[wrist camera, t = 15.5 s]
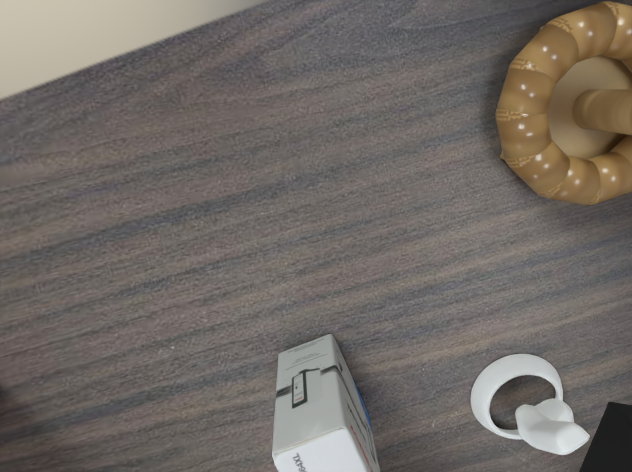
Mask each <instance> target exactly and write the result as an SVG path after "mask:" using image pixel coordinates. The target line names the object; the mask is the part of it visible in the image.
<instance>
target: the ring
mask: <svg viewBox="0 0 632 472" xmlns="http://www.w3.org/2000/svg"><path fill="white" fill-rule="evenodd" d="M597 55H601V56H606V57H610V58H614V59H619V60H621V61H622V62H623V63H624V65H625V66H626V67H627V68H628V69H629V70H630V71H631V73H632V6H629V5H625V4H620V3H616V2H611V1H605V2H600V3H596V4H593V5H591V6H588V7H585V8H582V9H579V10H576V11H573V12H571V13H568V14H565V15H562V16H559V17H557V18H554V19H552V20H551V21H549V22H548V23H547V24H546V25H545V26H544V27H543V28H542V29H541V30H540V31H539V32H538V33H537V34H536V35H535V36H534V37H533V39H532V40H531V41H530V42H529V43H528V44H527V45H526V46H525V47H524V48H523V49H522V50H521V52H520V53H519V54H518V55H517V56H516V57H515V58H514V59H513V60H512V62H511V64H510V66H509V68H508V71H507V75H506V78H505V81H504V85H503V88H502V92H501V95H500V99H499V102H498V105H497V109H496V115H495V117H496V123H497V127H498V132H499V136H500V141H501V145H502V150H503V154H504V158H505V161H506V163H507V165H508V166H509V167H510V168H511V169H512V170H513V171H514V172H515V173H516V174H517V175H518V176H519V177H520V178H521V179H522V180H523V181H524V182H525V183H526V184H527V185H528V186H529V187H530V188H531V189H532V190H533V191H534V192H535V193H537V194H538V195H540V196H542V197H545V198H549V199H554V200H559V201H564V202H569V203H575V204H580V205H593V204H597V203H600V202H603V201H606V200H609V199H612V198H615V197H618V196H621V195H624V194H627V193H630V192H632V135H626V136H625V137H624V138H623V139H622V140H621V141H620V142H619V143H618V144H617V145H616V146H615V147H614V148H613V149H612V150H611V151H610V152H609V153H606V154H603V155H600V156H597V157H594V158H591V159H588V160H587V159H582V158H577V157H572V156H567V155H566V154H565V153H564V152H563V151H562V150H561V149H560V148H559V147H558V146H557V144H556V143H555V142H554V141H553V140H552V139H551V134H550V129H549V124H548V118H547V110H548V107H549V103H550V100H551V97H552V94H553V91H554V88H555V85H556V83H557V82H558V81H559V80H560V79H561V78H562V77H563V76H564V75H565V74H566V73H567V72H568V71H569V70H570V69H571V68H572V66H573V65H574V64H575V63H577V62H580V61H583V60H586V59H589V58H592V57H595V56H597Z"/></svg>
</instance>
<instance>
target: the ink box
mask: <svg viewBox="0 0 632 472" xmlns="http://www.w3.org/2000/svg"><path fill="white" fill-rule="evenodd" d="M272 457H273V459H274V464H275V466H276V468H277V469H278V471H279V472H380V468H379V463H378V458H377V454H376V449H375V445H374V440H373V434H372V429H371V424H370V419H369V414H368V411H367V409H366V407H365V404H364V402H363V400H362V397H361V395H360V393H359V391H358V389H357V386H356V384H355V382H354V380H353V378H352V375H351V373H350V371H349V369H348V367H347V365H346V362H345V360H344V358H343V356H342V353H341V351H340V349H339V347H338V345H337V342H336V340H335V338H334V336H333V335H332V334H328V335H325V336H323V337H320V338H317V339H315V340H312V341H310V342H307V343H304V344H301V345H299V346H296V347H294V348H291V349H289V350H286V351H283V352H281V353H279V355H278V371H277V386H276V401H275V416H274V435H273V450H272Z"/></svg>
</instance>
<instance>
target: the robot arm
mask: <svg viewBox="0 0 632 472" xmlns="http://www.w3.org/2000/svg"><path fill="white" fill-rule="evenodd" d="M579 472H632V405H626V404H620V403H614V402H609V403H608V405H607V408H606V410H605V412H604V415H603V417H602V419H601V422H600V424H599V426H598V429H597V431H596V433H595V436H594V438H593V440H592V443H591V445H590V447H589V450H588V452H587V454H586V457H585V459H584V461H583V464H582V466H581V468H580V471H579Z"/></svg>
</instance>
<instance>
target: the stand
mask: <svg viewBox="0 0 632 472" xmlns="http://www.w3.org/2000/svg"><path fill="white" fill-rule="evenodd" d="M543 27H544V26H542V27H540V30H541V29H542V28H543ZM540 30H539V31H540ZM547 118H548V124H549V129H550V134H551V139H552V140H553V141H554V142H555V143H556V144H557V146H558V147H559V148H560V149H561V150H562V151H563V152H564V153H565V154H566V155H567V156H572V157H577V158H582V159H587V160H588V159H591V158H594V157H597V156H600V155H603V154H606V153H609V152H610V151H611V150H612V149H613V148H614V147H615V146H616V145H617V144H618V143H619V142H620V141H621V140H622V139H623V138H624V137H625V136H626V135H632V73H631V71H630V70H629V69H628V68H627V67H626V66H625V65H624V63H623V62H622V61H621V60H619V59H614V58H610V57H606V56H601V55H597V56H595V57H592V58H589V59H586V60H583V61H580V62H577V63H575V64H574V65H573V66H572V68H571V69H570V70H569V71H568V72H567V73H566V74H565V75H564V76H563V77H562V78H561V79H560V80H559V81H558V82H557V83H556V85H555V88H554V91H553V94H552V97H551V100H550V103H549V107H548V110H547ZM500 159H503V160H505V158H504V154H503V150H502V152H501V155H500Z"/></svg>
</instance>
